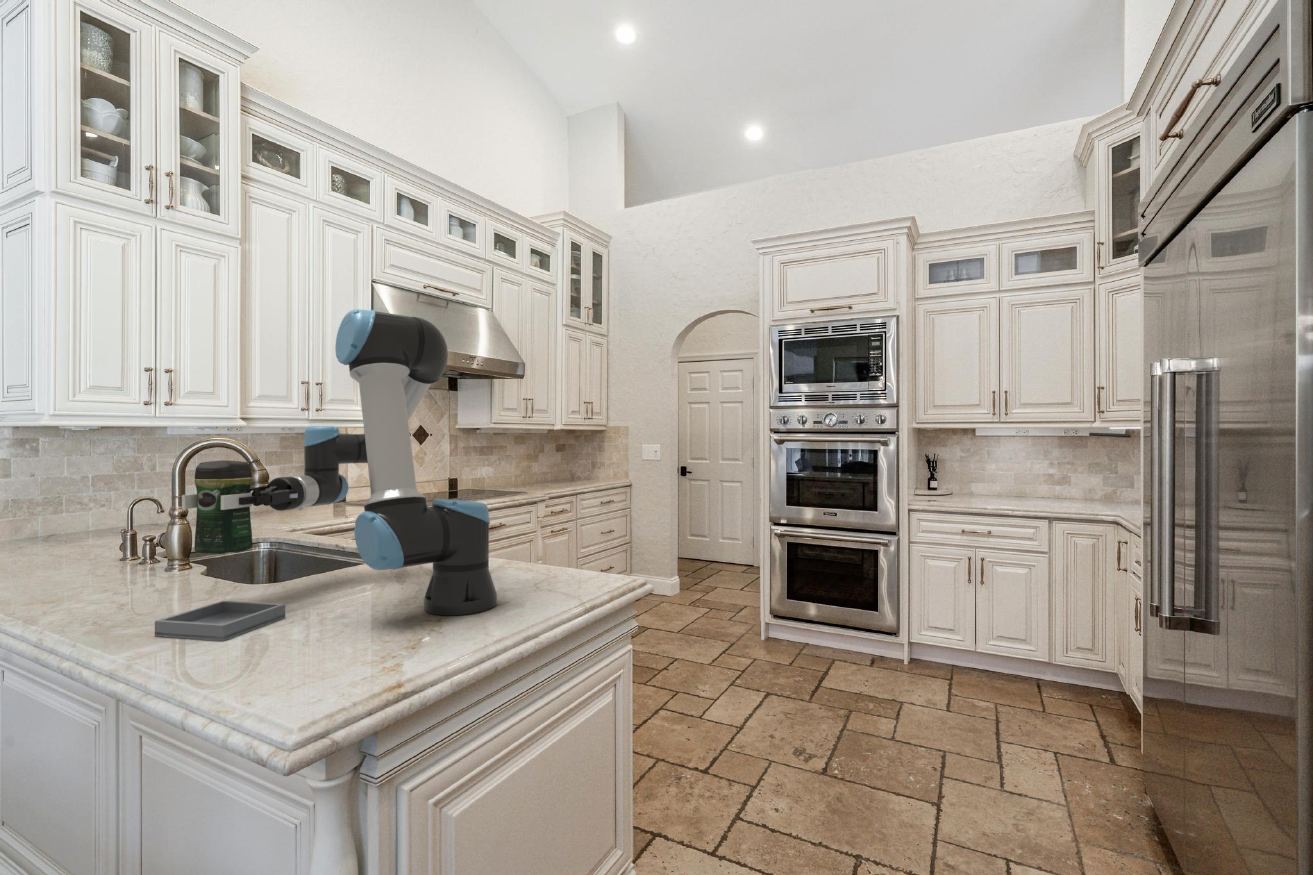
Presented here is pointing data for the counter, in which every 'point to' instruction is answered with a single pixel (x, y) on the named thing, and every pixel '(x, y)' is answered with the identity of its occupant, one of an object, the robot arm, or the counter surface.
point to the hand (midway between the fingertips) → (202, 502)
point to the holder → (220, 620)
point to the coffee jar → (213, 524)
